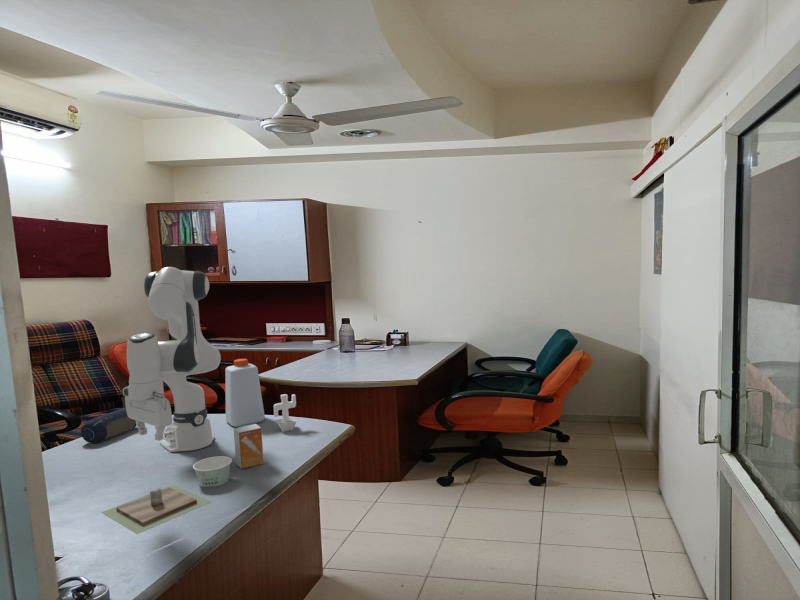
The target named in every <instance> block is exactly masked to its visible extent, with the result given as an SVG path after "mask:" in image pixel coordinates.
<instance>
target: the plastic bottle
mask: <svg viewBox="0 0 800 600" xmlns="http://www.w3.org/2000/svg"><path fill="white" fill-rule="evenodd" d="M258 369H259V368H258V367H257V366H256V365H255V364H252V363H249V359H247V358H237V359H235V360H233V365H229V366H226V368H225V370H224V371H225V422H226V423H228V425H230V426H231V427H233V428H239V427H243V426H247V425H253V424H259V423H261V422H263V421H264V420H265V409H264V403H263V397H262V388H261V384H260V377H259V370H258Z"/></svg>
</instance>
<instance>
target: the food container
mask: <svg viewBox="0 0 800 600" xmlns="http://www.w3.org/2000/svg"><path fill="white" fill-rule="evenodd" d="M232 463H233V459H232V458H231V457H230V456H227V455H226V456H224V455H222V456H220V455H219V456H211V457H210V456H209V457H206V458H203V459H200V460H198V461H196V462H195V463H194V464H192V468H193V470H194V472H195V476H196V479H197V482H198V485H199V486H200V487H201V488H215V487H218V486H221V485H224V484H226V483H228V482H229V480H230V474H231V464H232Z"/></svg>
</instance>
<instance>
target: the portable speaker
mask: <svg viewBox="0 0 800 600" xmlns="http://www.w3.org/2000/svg"><path fill="white" fill-rule="evenodd" d="M135 427H137V425H136V420H134V419H131V418H129V417H128V415H127V412H126V406H125V407H122V408H120V409H117V410H114V411H112V412H109V413H106V414H103V415H100V416H97V417H94V418H92V419H89V420H88V421H87V422H85V423H84V424H83V426H82V427H81V428H80V429H81V430H80V435H81V437H82V439H83V440H84V441H85V442H86V443H89V444H98V443H101V442H103V441H106V440H108V439H111V438H113V437H116V436H118V435H121V434H122V433H123V434H124V433H126V432H128V431H130V430H132V429H134V428H135Z"/></svg>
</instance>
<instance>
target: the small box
mask: <svg viewBox="0 0 800 600" xmlns="http://www.w3.org/2000/svg"><path fill="white" fill-rule="evenodd" d="M262 435H263V434H262V427H260V426H259V424H258V423H255V424H251V425H246V426H242V427H233V438H234V453H235V464H236V466H238V467H239V469H240V470H243V469H246V468H251V467H255V466H258V465H263V464H264V462H265V461H264V448H263V436H262Z"/></svg>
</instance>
